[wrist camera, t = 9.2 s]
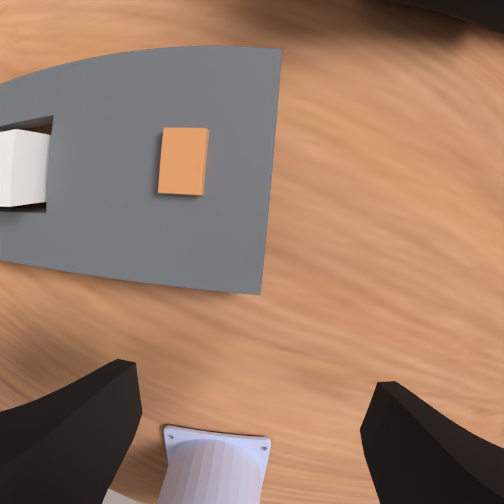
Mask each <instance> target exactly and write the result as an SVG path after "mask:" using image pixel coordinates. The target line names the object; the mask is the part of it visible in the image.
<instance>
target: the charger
mask: <svg viewBox="0 0 504 504" xmlns="http://www.w3.org/2000/svg"><path fill="white" fill-rule="evenodd" d="M50 141H51V135H48V134H42V133H37V132H31V131H25V130H19V129H14V130H9V131H4V132H0V206H1V207H12V206H19V205H26V204H33V203H41V202H47V176H48V162H49V151H50Z"/></svg>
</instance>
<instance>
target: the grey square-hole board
mask: <svg viewBox="0 0 504 504" xmlns="http://www.w3.org/2000/svg"><path fill="white" fill-rule="evenodd" d="M281 56H282V49H274V48H261V47H243V46H188V47H170V48H157V49H147V50H138V51H130V52H123V53H116V54H110V55H104V56H99V57H93V58H88V59H84V60H79V61H75V62H70V63H66V64H62V65H58V66H54V67H51V68H47V69H44V70H40V71H37V72H34V73H30V74H27V75H24V76H21V77H18V78H15V79H12V80H10V81H7V82H4V83H2V84H0V132H4V131H9V130H14V129H19V130H24V129H30V128H35V127H41V126H47V125H52V133H51V141H50V151H49V162H48V176H47V204H46V208H14V206H12V207H1V206H0V260H3V261H8V262H14V263H19V264H25V265H30V266H36V267H42V268H48V269H54V270H60V271H66V272H72V273H79V274H85V275H92V276H99V277H106V278H113V279H120V280H128V281H135V282H143V283H151V284H159V285H167V286H175V287H184V288H193V289H202V290H211V291H221V292H231V293H241V294H252V295H261V285H262V274H263V264H264V254H265V243H266V233H267V222H268V211H269V200H270V189H271V178H272V167H273V155H274V144H275V132H276V120H277V107H278V95H279V82H280V69H281Z"/></svg>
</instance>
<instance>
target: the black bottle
mask: <svg viewBox="0 0 504 504" xmlns="http://www.w3.org/2000/svg"><path fill="white" fill-rule="evenodd" d="M385 1H391V2H396V3H401V4H406V5H410V6H415V7H419V8H423V9H427V10H431V11H435V12H438V13H442V14H445V15H448V16H452V17H455V18H458V19H461V20H464V21H467V22H469V23H472V24H475V25H478V26H480V27H483V28H485V29H488V30H491V31H495V32H498V33H502V34H504V0H385Z"/></svg>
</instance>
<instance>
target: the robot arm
mask: <svg viewBox="0 0 504 504" xmlns="http://www.w3.org/2000/svg"><path fill="white" fill-rule="evenodd" d="M141 415H142V406H141V400H140V392H139V385H138V377H137V369H136V363H135V362H130V361H126V360H121V359H116V360H114V361H112V362H110V363H108V364H106V365H104V366H103V367H101V368H99V369H97V370H95V371H93V372H92V373H90V374H88V375H86V376H84V377H82V378H81V379H79V380H77V381H75V382H73V383H71V384H69V385H67V386H65V387H63V388H61V389H59V390H57V391H55V392H53V393H50V394H48V395H46V396H44V397H42V398H39V399H37V400H35V401H32V402H29V403H27V404H24V405H21V406H18V407H15V408H12V409H8V410H5V411H1V412H0V504H102V502H103V499H104V497H105V495H106V492H107V490H108V488H109V486H110V484H111V482H112V480H113V478H114V476H115V474H116V472H117V470H118V468H119V466H120V465H121V463H122V461H123V459H124V457H125V455H126V453H127V451H128V449H129V447H130V445H131V443H132V441H133V439H134V436H135V433H136V430H137V428H138V425H139V422H140V419H141ZM360 433H361V439H362V445H363V450H364V455H365V459H366V462H367V465H368V468H369V471H370V474H371V477H372V480H373V483H374V486H375V489H376V492H377V495H378V498H379V501H380V504H504V448H501V447H499V446H497V445H494V444H492V443H490V442H488V441H486V440H484V439H482V438H480V437H478V436H476V435H474V434H472V433H471V432H469V431H467V430H466V429H464V428H462V427H461V426H459V425H458V424H456V423H454V422H453V421H451V420H450V419H448V418H447V417H445V416H444V415H442V414H441V413H440V412H438V411H437V410H435V409H434V408H433V407H431V406H430V405H428V404H427V403H426V402H424V401H423V400H422V399H420V398H419V397H417V396H416V395H415V394H413V393H412V392H410V391H409V390H408V389H406V388H405V387H403V386H402V385H400V384H399V383H397V382H395V381H390V382H377V385H376V388H375V391H374V394H373V397H372V399H371V402H370V405H369V408H368V410H367V413H366V415H365V418H364V420H363V423H362V425H361V428H360ZM171 435H172V436H171ZM164 439H165V446H166V453H167V459H168V465H169V466H168V469H167V472H166V475H165V478H164V481H163V484H162V487H161V491H160V494H159V497H158V500H157V503H156V504H260V493H261V489H262V485H263V480H264V476H265V471H266V466H267V462H268V457H269V452H270V447H271V440H270V439H269V438H267V437H255V436H243V435H232V434H223V433H215V432H207V431H200V430H193V429H187V428H181V427H176V426H170V425H168V426H165V428H164Z"/></svg>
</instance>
